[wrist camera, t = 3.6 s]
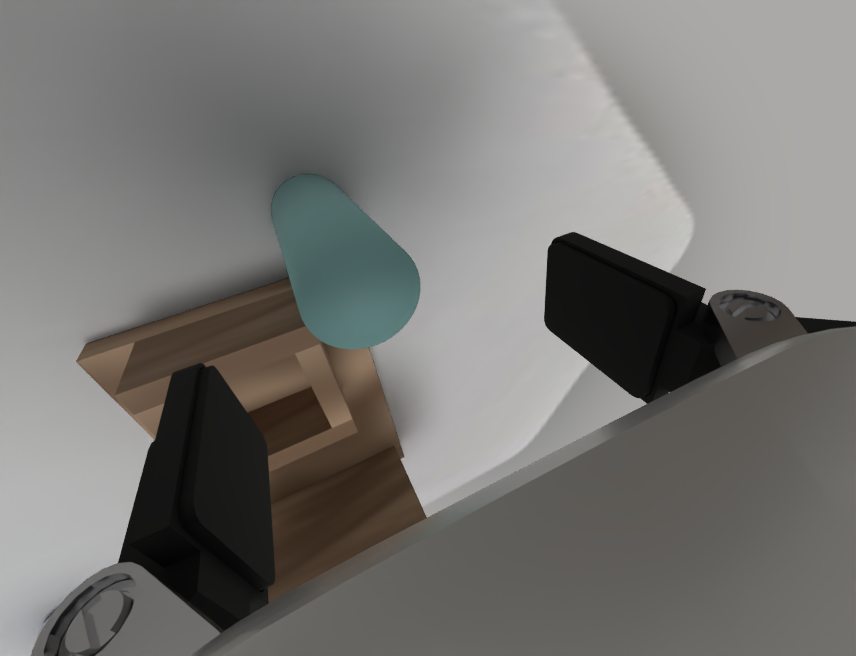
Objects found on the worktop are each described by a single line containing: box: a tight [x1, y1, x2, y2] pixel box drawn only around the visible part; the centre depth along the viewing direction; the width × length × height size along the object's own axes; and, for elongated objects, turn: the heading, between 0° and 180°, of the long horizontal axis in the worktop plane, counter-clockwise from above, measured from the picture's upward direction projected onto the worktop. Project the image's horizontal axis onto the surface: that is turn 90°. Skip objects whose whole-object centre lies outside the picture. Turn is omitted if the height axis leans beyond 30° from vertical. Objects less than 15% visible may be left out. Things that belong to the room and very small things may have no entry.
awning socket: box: [76, 278, 427, 603], centre depth 20 cm, size 18×13×14 cm
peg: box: [271, 174, 420, 349], centre depth 15 cm, size 4×4×10 cm
